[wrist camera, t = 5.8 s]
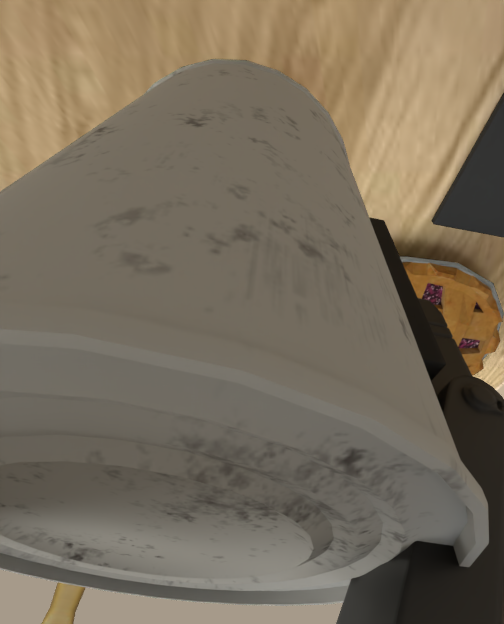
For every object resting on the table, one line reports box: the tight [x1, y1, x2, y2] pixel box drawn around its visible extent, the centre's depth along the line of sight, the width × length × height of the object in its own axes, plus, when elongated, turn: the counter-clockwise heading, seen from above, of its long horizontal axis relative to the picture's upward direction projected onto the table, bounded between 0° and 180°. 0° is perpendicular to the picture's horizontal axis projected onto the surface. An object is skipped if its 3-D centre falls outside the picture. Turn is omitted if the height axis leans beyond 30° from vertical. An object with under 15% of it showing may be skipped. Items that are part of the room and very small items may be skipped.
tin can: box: [0, 59, 489, 606], centre depth 10 cm, size 10×10×12 cm
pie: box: [400, 256, 504, 375], centre depth 37 cm, size 22×22×5 cm
